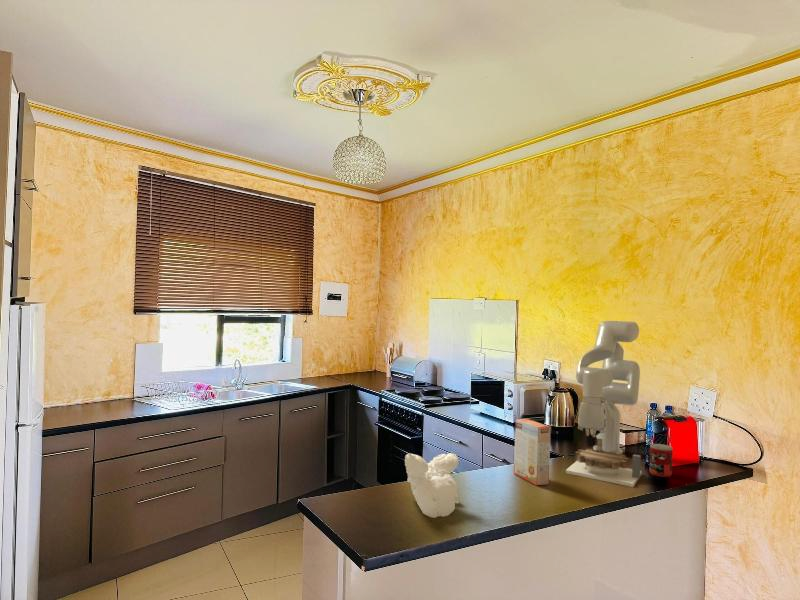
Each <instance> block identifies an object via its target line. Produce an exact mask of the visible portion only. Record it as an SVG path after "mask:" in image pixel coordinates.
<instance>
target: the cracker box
mask: <svg viewBox="0 0 800 600" xmlns="http://www.w3.org/2000/svg"><path fill="white" fill-rule="evenodd" d="M514 430H515V434H514V454H513V455H514V457H513V475H515V476H517V477H519V478H521V479H523V480H525V481H527V482H529V483H530V484H532V485H534V486H547V485H550V465H551V463H550V460H551V459H550V457H551V456H550V455H551V434H552V426H550V425H547V424H543V423H541V422H538V421H535V420H532V419H529V418H522V419H521V418H518V419H515V429H514Z"/></svg>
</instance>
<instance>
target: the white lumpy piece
mask: <svg viewBox="0 0 800 600" xmlns="http://www.w3.org/2000/svg"><path fill="white" fill-rule="evenodd" d="M459 462H460V461H459V458H458V455H457V454H456V453H455V454H454V452H453V453H451V452H449V453H447V454H446V453H440V454H438V455H437V456H434V457H433V458H432V460H430V461H429V462H427V461H426V460H425V459H424V458H423V457H422V456H420V455H418V454H414V453H409V452H408V453H407V454H405V456H404V466H405V470H406V474H407V482H408V483H410V488H411V491H412V494H413V497H414V500H415V502H416V503H417V505H418V507H419V509H420V511H421V512H422V514H423V515H425V516H427V517H429V518H431V519H432V518H434V519H436V518H439V517H442V518H443V517H448V516H449V515H451V514H452V513H453V512H454V511H455V509H456V504H459V503H460V501H459V500H456V499H458V497H459V495H458V489H459V488H458V485H457V483H456V481H455V480H454V479H453V477H452V476H451V475H450V474H452V472H454V470H455V469H457V467H458V465H459Z"/></svg>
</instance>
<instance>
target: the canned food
mask: <svg viewBox="0 0 800 600" xmlns="http://www.w3.org/2000/svg"><path fill="white" fill-rule="evenodd" d="M649 446H650V447H649V469H648V471H649V473H650V474H651V475H653V476H656V477H660V478H661V477H662V478H671V477H672V474H673V454H674V453H673V451H674V450H673V447H672V446H671V445H667V444H662V443H651V444H650V445H649Z"/></svg>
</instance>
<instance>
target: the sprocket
mask: <svg viewBox="0 0 800 600" xmlns="http://www.w3.org/2000/svg"><path fill="white" fill-rule="evenodd" d="M596 445H597V450H593V448H585V449H582V448H581V449H577V451H575V456H574V457H575V460H576V461H578V462H580V463H586V465H588V466H598V467H599V468H604V469H606V468H612V469H619V467H621V468H627V469H628V467H629V465H630V463H629V462H630V459H629V457H626V455H625V454H623V453H622V454H616V453H617V452H613V451H610V452H608V451H604V450H602V439H597V438H596Z"/></svg>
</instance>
